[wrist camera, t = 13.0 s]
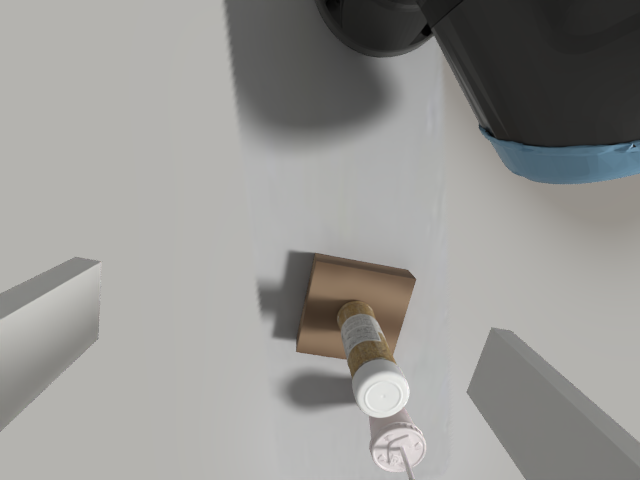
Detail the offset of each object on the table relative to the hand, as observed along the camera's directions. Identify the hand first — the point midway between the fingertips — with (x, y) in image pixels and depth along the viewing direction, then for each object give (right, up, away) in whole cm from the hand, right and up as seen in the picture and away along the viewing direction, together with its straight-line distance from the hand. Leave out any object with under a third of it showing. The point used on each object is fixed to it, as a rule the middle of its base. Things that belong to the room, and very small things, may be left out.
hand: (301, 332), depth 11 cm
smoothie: (+9, -18, +36) cm, 41 cm away
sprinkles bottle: (+5, -6, +29) cm, 30 cm away
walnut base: (+5, -5, +32) cm, 32 cm away
